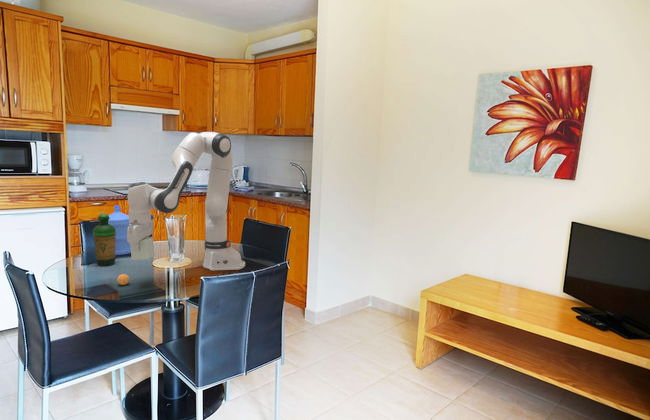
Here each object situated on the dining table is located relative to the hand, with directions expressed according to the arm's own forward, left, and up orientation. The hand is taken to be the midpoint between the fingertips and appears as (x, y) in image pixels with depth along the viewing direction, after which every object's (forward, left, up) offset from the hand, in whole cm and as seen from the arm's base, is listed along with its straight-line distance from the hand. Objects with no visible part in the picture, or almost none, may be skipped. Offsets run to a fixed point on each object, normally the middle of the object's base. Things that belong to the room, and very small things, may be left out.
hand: (141, 248), depth 187 cm
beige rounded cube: (-1, 0, -4) cm, 4 cm away
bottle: (+32, -31, -18) cm, 48 cm away
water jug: (+36, -55, -18) cm, 68 cm away
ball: (+9, 0, -15) cm, 17 cm away
